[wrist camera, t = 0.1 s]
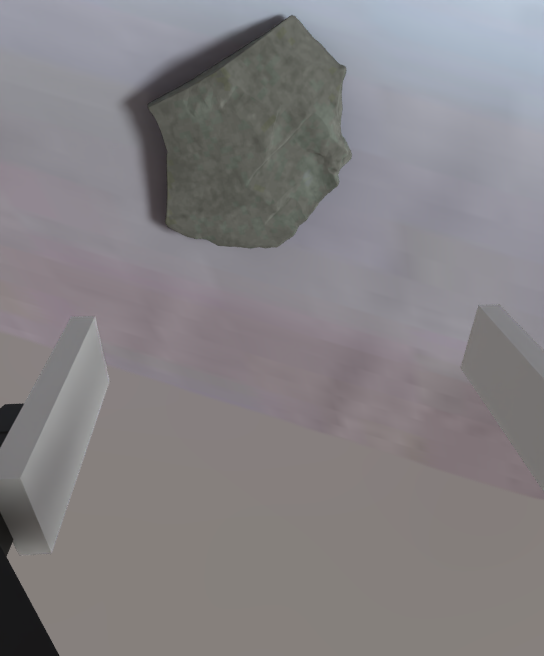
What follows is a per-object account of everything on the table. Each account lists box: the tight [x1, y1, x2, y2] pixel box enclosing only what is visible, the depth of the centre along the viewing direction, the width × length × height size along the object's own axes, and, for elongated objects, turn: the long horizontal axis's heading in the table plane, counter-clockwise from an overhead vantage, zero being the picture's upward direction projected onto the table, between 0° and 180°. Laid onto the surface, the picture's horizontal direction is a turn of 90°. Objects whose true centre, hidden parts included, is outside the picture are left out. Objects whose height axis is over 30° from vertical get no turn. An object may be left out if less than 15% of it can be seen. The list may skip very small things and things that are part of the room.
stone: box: [148, 15, 352, 248], centre depth 38 cm, size 18×5×15 cm
